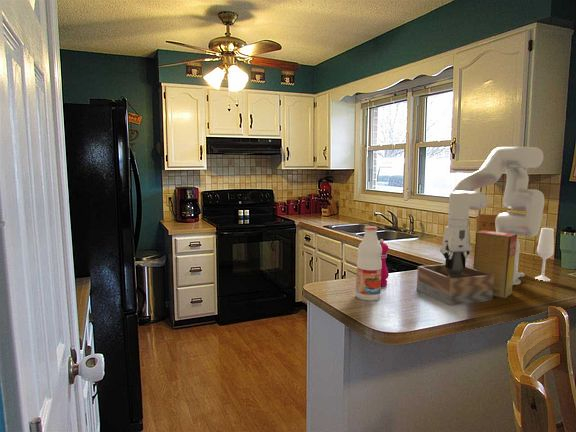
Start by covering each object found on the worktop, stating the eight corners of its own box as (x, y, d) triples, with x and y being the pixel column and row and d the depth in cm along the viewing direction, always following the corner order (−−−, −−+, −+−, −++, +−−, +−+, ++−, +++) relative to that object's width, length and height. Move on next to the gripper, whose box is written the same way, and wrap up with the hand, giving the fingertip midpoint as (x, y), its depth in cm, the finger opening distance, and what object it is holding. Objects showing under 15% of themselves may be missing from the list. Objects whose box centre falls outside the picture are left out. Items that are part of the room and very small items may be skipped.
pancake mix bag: (513, 272, 199) (518, 216, 195) (471, 266, 209) (475, 213, 206) (514, 269, 204) (519, 215, 201) (474, 263, 215) (478, 212, 211)
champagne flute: (546, 282, 182) (552, 230, 180) (531, 278, 188) (536, 228, 185) (553, 279, 186) (559, 229, 183) (538, 276, 192) (543, 227, 189)
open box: (455, 285, 174) (456, 263, 173) (492, 300, 156) (494, 275, 154) (416, 289, 168) (417, 266, 166) (450, 305, 149) (452, 279, 148)
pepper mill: (375, 280, 179) (377, 236, 177) (390, 284, 175) (393, 239, 172) (368, 284, 174) (370, 239, 171) (383, 287, 169) (385, 241, 167)
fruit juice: (367, 292, 163) (370, 224, 160) (385, 298, 156) (388, 227, 152) (350, 296, 158) (353, 225, 154) (368, 302, 150) (371, 229, 147)
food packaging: (512, 293, 164) (518, 233, 161) (505, 298, 158) (510, 236, 154) (479, 286, 174) (483, 229, 170) (470, 291, 167) (475, 232, 164)
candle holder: (457, 293, 157) (461, 231, 154) (442, 289, 162) (446, 229, 159) (464, 290, 161) (469, 229, 158) (450, 287, 166) (454, 227, 163)
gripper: (468, 221, 164) (465, 264, 167) (433, 222, 159) (431, 267, 161) (482, 223, 157) (479, 268, 160) (447, 225, 152) (444, 271, 154)
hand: (455, 267), depth 160 cm, fingers closed on candle holder, 5 cm apart
